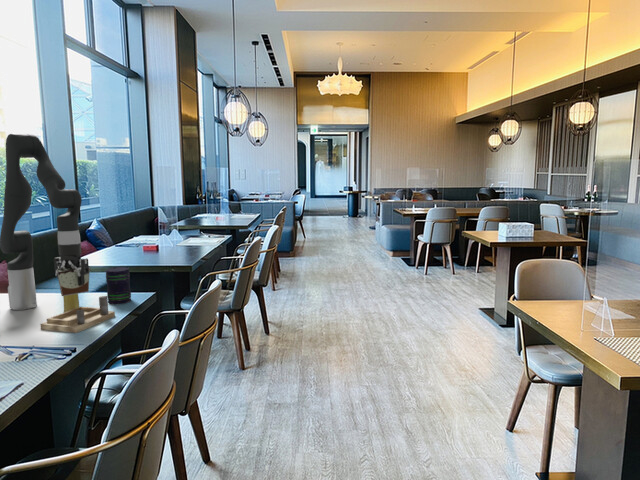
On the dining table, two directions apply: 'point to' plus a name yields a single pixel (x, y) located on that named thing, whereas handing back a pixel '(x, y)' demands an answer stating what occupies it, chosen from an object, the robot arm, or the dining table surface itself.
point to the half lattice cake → (71, 282)
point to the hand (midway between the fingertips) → (73, 284)
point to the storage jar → (118, 285)
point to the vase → (71, 302)
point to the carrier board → (77, 327)
